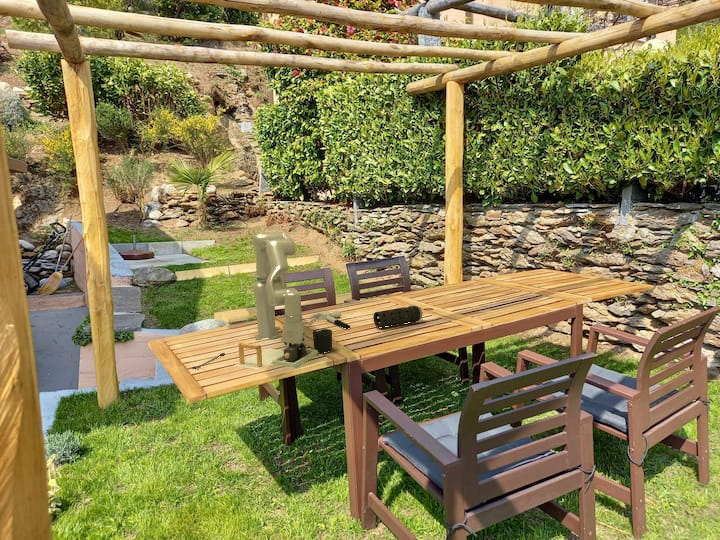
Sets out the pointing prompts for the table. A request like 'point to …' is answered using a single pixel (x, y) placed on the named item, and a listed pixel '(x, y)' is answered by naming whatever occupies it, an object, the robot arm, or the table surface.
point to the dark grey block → (292, 352)
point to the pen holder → (322, 340)
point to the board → (266, 359)
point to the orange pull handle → (250, 346)
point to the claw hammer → (329, 318)
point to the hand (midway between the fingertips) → (295, 355)
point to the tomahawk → (208, 361)
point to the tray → (297, 363)
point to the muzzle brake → (397, 316)
